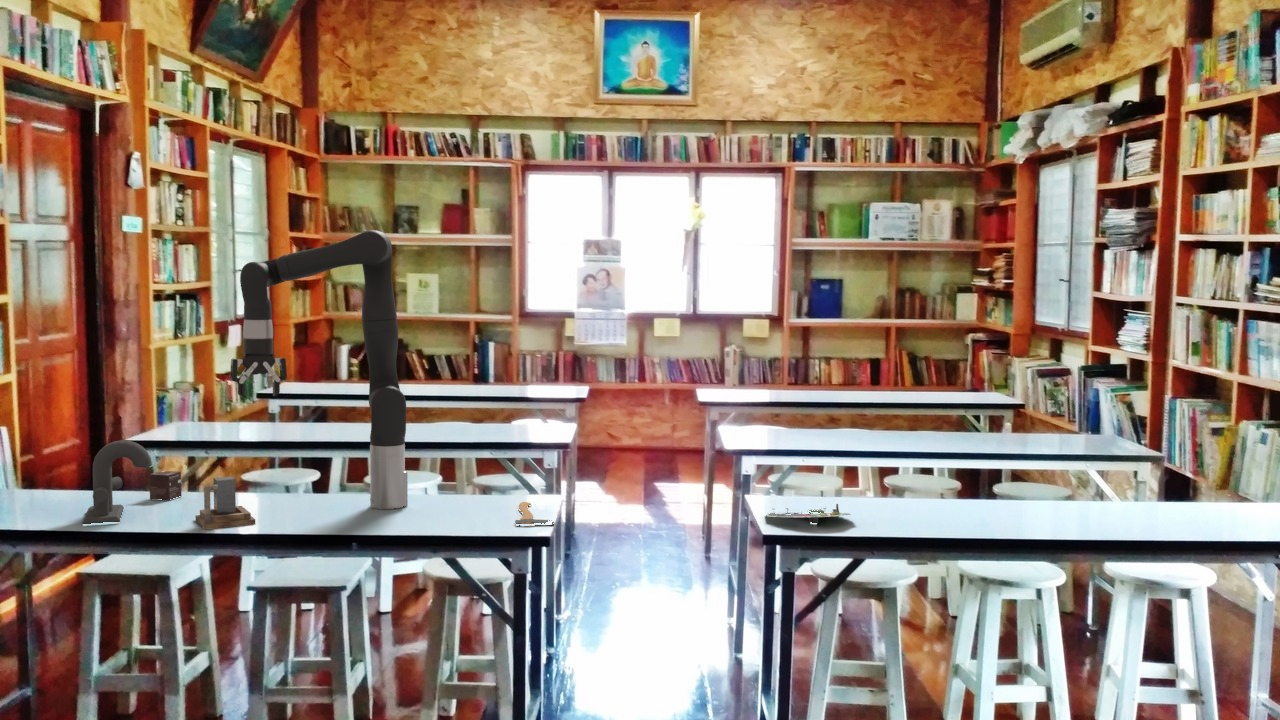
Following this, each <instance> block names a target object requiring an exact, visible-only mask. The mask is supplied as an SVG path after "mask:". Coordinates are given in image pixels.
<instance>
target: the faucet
mask: <svg viewBox="0 0 1280 720" xmlns="http://www.w3.org/2000/svg"><path fill="white" fill-rule="evenodd" d="M120 458H126V459H128V460H130V461H131V463H132V464H133V466H134V467H136V468H151V466H153V461H152V458H151V456H150V454H149V452H148V451H147V449H145V448H144V446H143V445H140V444H139V443H137V442H134V441H130V440H125V439H124V440H123V439H122V440H115V441H112V442H110V443H107V444H105V445H104V446H103V447H102V448H101V449H100V450H98V451H97V454H96V455H95V456H94V458H93V459H94V460H93V462H92V499H93V504H92V506H89V507H88V508H87V511H86V513H85V514H84V518H83V520H82V522H81V525H82V524H91V523H103V522H120V523H121V521H120V518H121V519H122V517H121V515H122V516H123V514H122V512H123V513H124V511H123V509H124V510H125V508H124V505H122V504H113V503H114V501H113V491H115V490H119V489H121V488H122V487H123V484H124V483H123V480H122V478H121V477H120V476H114V477H113V470H112V469H113V468H112V467H113V463H114V462H115V461H116V460H117V459H120Z"/></svg>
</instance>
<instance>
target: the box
mask: <svg viewBox="0 0 1280 720" xmlns="http://www.w3.org/2000/svg"><path fill="white" fill-rule="evenodd" d="M181 473H182V471H175V470H174V471H172V470H170V471H169V470H163V471H157V472H156V471H155V472H154V473H153V472H152V473H150V474H149V500H150V499H162V500H161V501H163V500H170V499H173V498H176V497H179V496H181V497H182V474H181ZM179 498H180V497H179ZM173 500H174V499H173ZM170 501H171V500H170Z"/></svg>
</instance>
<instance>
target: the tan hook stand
mask: <svg viewBox="0 0 1280 720" xmlns="http://www.w3.org/2000/svg"><path fill="white" fill-rule="evenodd" d="M529 505H531V506H532V504H531V502H527V501H522V502H520V503H519V504H518V507H519V509H520V510H521V512H523V516H521V518H520V520H519V519H516V520H514V522H515V523H516V524H534V523H541V524H542V523H544V524H545V523H546V522H548V520H549V521H550V519H535V518H534V514H532V512H531V511H530V509H528V508H527V506H529ZM533 518H534V519H533ZM515 523H514V524H515ZM553 523H554V524H555V521H553V522H552V526H554V525H553Z"/></svg>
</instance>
